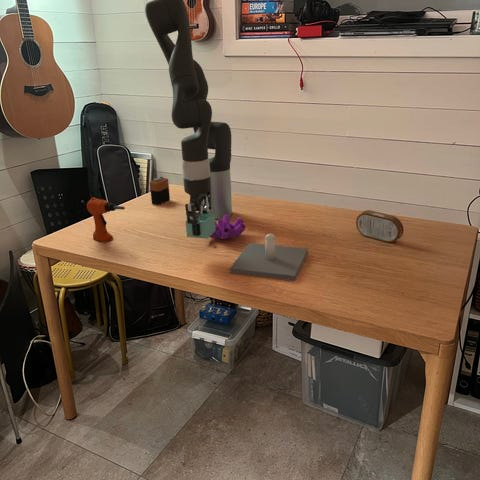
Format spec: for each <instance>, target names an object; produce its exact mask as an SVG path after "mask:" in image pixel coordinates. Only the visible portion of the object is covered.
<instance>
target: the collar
mask: <svg viewBox="0 0 480 480" xmlns="http://www.w3.org/2000/svg"><path fill="white" fill-rule="evenodd" d="M196 216H197V215H196ZM215 221H216V219H215V214H203V213H202V216H200V232H201V235H200V236H194V235H193V233H192V224H188V223H187V219H186V220H185V233H186V238H195V239H206V240H208V239H209V238H211V237H210V236H211V235H212V234H213V233H214V231H215V230H216V229H215Z"/></svg>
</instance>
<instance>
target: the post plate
mask: <svg viewBox="0 0 480 480" xmlns="http://www.w3.org/2000/svg"><path fill="white" fill-rule="evenodd" d="M308 251H309V248H306V247H294V246H285V245H276V236H275V234H273V233H267V234H266V235H265V237H264V243H255V242H254V243H253V242H249V243H248V244H247V245H246V247H245V248H244V249H243V251H242V252H241V253H240V254H239V256H238V257H237V258H236V259H235V261H234V262H233V263H232V265H231V266H230V267H229V272H230V274H235V275H242V276H250V277H251V276H252V277H259V278H268V279H276V280H285V281H292V282H295V281H296V280H297V278H298V275H299V273H300V271H301V269H302V266H303V264H304V263H305V260H306V258H307V255H308V254H309V252H308Z"/></svg>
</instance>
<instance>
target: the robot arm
mask: <svg viewBox="0 0 480 480" xmlns="http://www.w3.org/2000/svg"><path fill="white" fill-rule="evenodd" d="M144 13H145V14H144V15H145V17H146V20H147V23H148V25H149V27H150V29H151V31H152V33H153V35H154V37H155V39H156V41H157V43H158V46H159V47H160V49H161V51H162V53H163V55H164V58H165V61H166V62H167V64H168V75H169V78H170V79H169V80H170V83H171V87H172V88H171V89H172V108H171V121H172V123H173V124H174V126H175V127H176V128H177V129H183V130H184V129H185V130H186V129H191V128H192V129H193V132H194V133H193V134H191V135H188V136H185V137H184V138H182V140H181V141H180V146H181V157H182V164H181V165H182V167H181V168H182V178H183V188H184V189H183V190H184V192H185V193H186V194H188V195H189V203H185V205H184V208H185V215H186V220H187V223H188V224H192V233H193V235H194V236H200V235H201V232H200V216H202V213H203V214H215V220H218V219H223V216H224V215H229V216H230V217H232V215H233V205H232V204H233V202H232V201H233V200H232V198H233V197H232V180H231V179H232V178H231V163H232V162H231V161H232V130H231V128H230V127H231V126H230V125H229V124H228V123H227V122H224V121H223V122H221V121H212V119H213V109H212V106H211V104H210V102H209V101H208V100H207V99H208V95H209V85H208V81H207V79H206V75H205V72H204V70H203V68H202V66H201V65H200V64H199V62H197V60H196V59H194V56H193V46H192V44H193V43H192V36H191V35H192V33H191V23H190V17H189V12H188V9H187V6H186V4H185V1H184V0H151V1H148V2H147V3H145V5H144ZM175 32H177V38H176V42H175V43H174V41H173V40H172V39H171V37H170V35H169V34H172V33H175ZM209 150H213V151H214V150H215V151H214V156H212V157H210V158H209ZM196 215H197V216H196Z"/></svg>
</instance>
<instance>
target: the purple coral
mask: <svg viewBox="0 0 480 480" xmlns="http://www.w3.org/2000/svg"><path fill="white" fill-rule="evenodd" d="M244 222H245V220H244V219H242V218H241V217H236V219H235V221H233V223H232V224H231V216H229V215H224V216H223V219H217V221H216V220H215V229H216V230H215V231H214V233H213V234H212V235H211V236H210V237H209V238H213V239H219V240H220V239H222V240H224V239H230V238H235V237H238V236H240V235H241V234H242V233H244V231H245V230H246V228H247V226H246V224H244Z"/></svg>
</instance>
